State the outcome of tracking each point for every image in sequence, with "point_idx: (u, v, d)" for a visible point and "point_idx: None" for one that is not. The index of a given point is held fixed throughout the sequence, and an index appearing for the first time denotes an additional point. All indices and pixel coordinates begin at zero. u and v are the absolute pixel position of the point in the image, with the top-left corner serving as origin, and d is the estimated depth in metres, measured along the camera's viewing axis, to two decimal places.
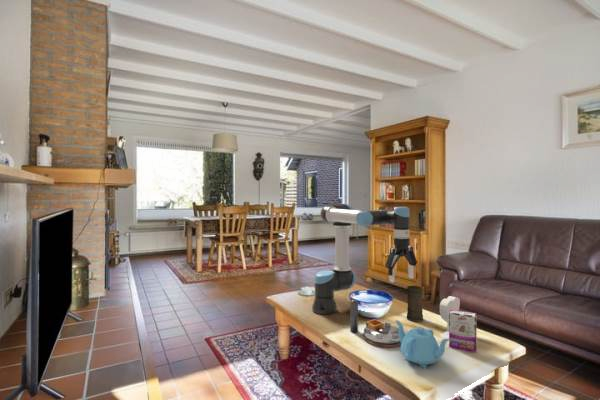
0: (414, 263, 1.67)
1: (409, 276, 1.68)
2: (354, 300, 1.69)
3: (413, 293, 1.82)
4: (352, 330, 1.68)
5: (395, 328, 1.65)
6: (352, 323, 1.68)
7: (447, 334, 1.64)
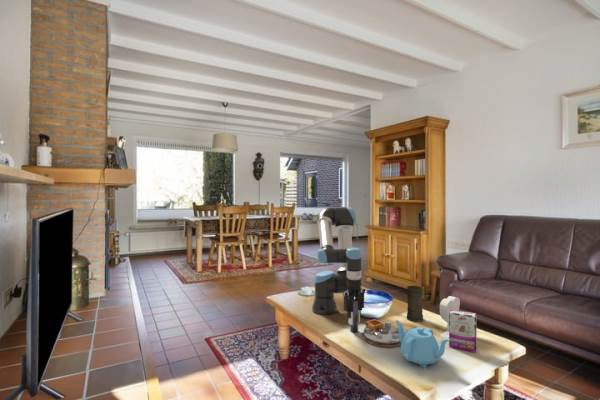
0: (361, 308, 1.70)
1: None
2: (354, 300, 1.69)
3: (413, 293, 1.82)
4: (352, 330, 1.68)
5: (395, 328, 1.65)
6: None
7: (447, 334, 1.64)
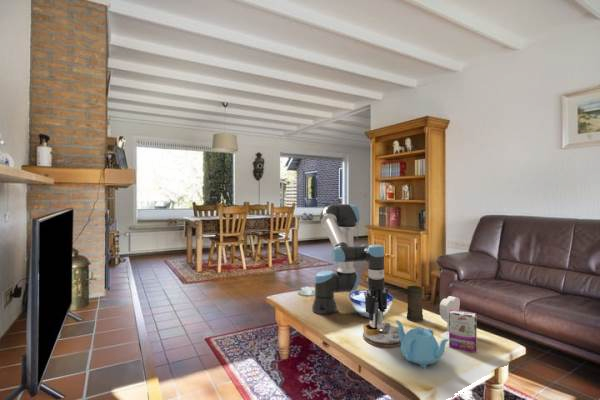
0: (383, 309, 1.58)
1: (378, 322, 1.59)
2: None
3: (413, 293, 1.82)
4: None
5: (379, 325, 1.69)
6: None
7: (447, 334, 1.64)
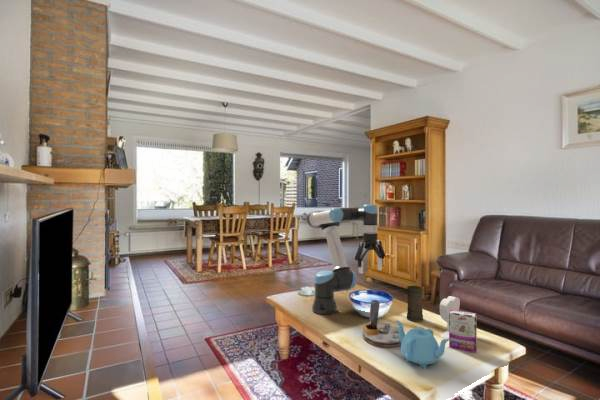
0: (382, 256, 1.82)
1: (378, 268, 1.83)
2: (375, 302, 1.56)
3: (413, 293, 1.82)
4: None
5: (379, 325, 1.69)
6: (374, 325, 1.58)
7: (447, 334, 1.64)
